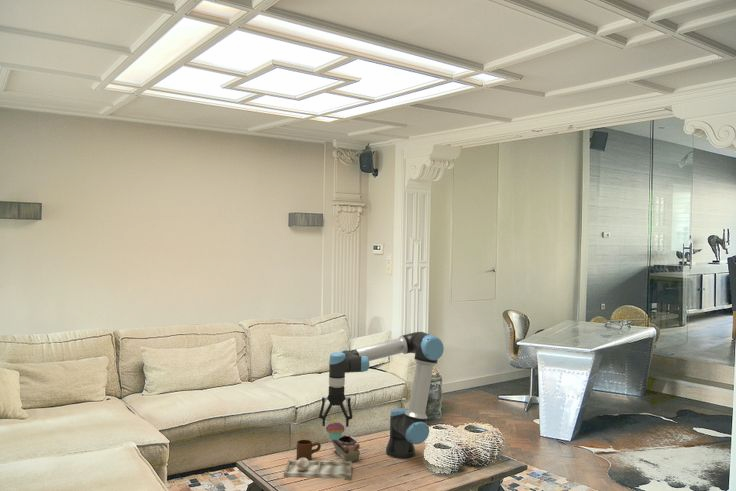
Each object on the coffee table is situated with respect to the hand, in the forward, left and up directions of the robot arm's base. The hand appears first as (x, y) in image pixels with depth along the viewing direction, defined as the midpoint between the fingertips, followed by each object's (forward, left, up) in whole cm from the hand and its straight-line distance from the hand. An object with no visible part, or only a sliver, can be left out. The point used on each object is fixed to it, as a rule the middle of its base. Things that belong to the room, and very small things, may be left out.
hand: (335, 433), depth 290 cm
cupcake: (0, 0, -3) cm, 3 cm away
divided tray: (+7, 0, -19) cm, 20 cm away
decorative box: (-3, -22, -19) cm, 29 cm away
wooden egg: (+15, 0, -18) cm, 24 cm away
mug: (+13, -15, -19) cm, 28 cm away
